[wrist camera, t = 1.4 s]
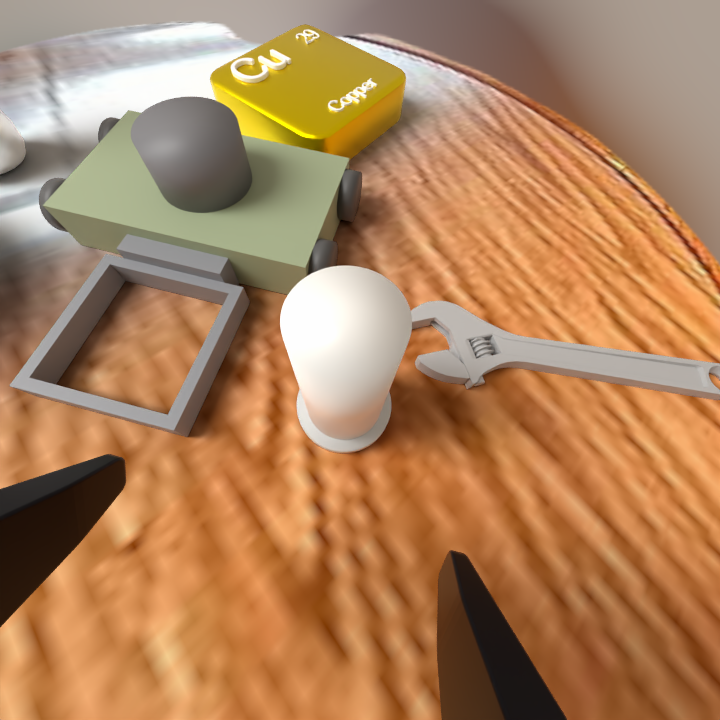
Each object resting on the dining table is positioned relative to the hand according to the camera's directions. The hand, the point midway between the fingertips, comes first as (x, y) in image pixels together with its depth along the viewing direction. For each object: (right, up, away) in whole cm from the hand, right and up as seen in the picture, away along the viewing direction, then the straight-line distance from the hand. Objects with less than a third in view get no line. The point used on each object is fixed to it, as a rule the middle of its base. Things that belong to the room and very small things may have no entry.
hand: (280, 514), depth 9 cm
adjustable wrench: (+18, +3, +17) cm, 25 cm away
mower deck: (-12, +11, +19) cm, 25 cm away
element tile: (-3, +31, +29) cm, 42 cm away
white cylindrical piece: (+1, +1, +15) cm, 15 cm away
